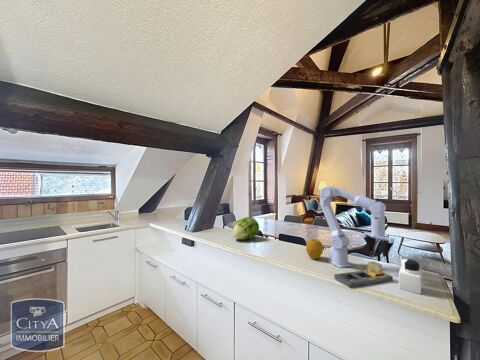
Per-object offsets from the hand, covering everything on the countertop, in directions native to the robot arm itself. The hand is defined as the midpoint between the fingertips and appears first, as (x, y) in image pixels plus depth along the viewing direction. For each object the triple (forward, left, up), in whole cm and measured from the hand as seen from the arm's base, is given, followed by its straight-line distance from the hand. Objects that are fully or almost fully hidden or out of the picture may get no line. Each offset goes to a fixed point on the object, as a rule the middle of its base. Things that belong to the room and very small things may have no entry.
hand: (378, 253), depth 102 cm
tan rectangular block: (+2, -5, -10) cm, 12 cm away
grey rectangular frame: (+2, -12, -10) cm, 16 cm away
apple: (-28, -16, -11) cm, 34 cm away
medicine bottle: (+14, +1, -11) cm, 18 cm away
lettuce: (-80, -42, -11) cm, 92 cm away
